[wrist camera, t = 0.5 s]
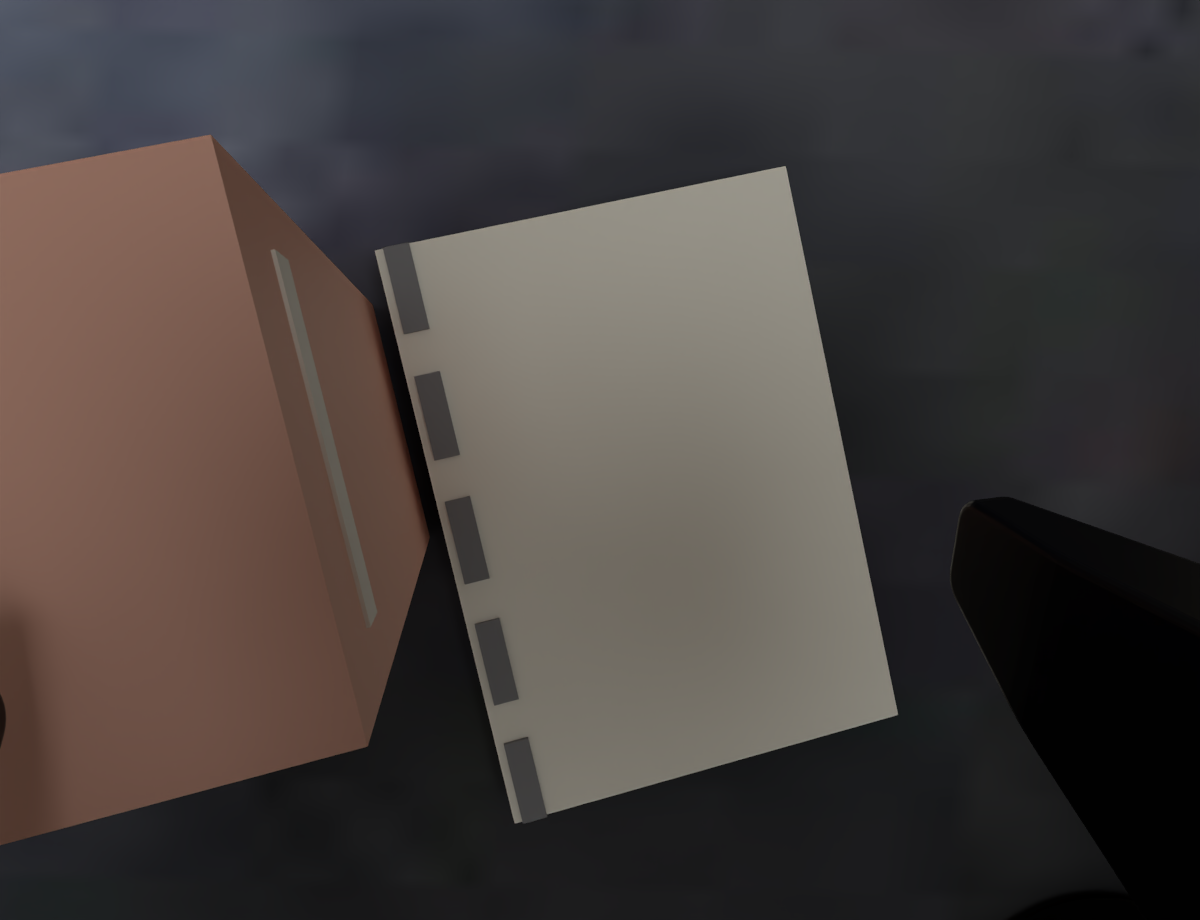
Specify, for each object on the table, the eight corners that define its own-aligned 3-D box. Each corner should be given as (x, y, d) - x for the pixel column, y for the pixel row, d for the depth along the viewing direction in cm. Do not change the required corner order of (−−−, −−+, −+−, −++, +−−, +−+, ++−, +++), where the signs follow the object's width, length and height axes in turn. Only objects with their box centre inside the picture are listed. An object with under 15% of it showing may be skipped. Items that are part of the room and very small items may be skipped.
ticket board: (865, 691, 26) (900, 716, 24) (510, 790, 25) (515, 826, 23) (760, 185, 25) (787, 164, 23) (382, 263, 24) (373, 249, 22)
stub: (431, 536, 24) (372, 745, 9) (289, 571, 24) (-9, 847, 9) (375, 304, 24) (215, 133, 9) (228, 335, 23) (-198, 210, 8)
